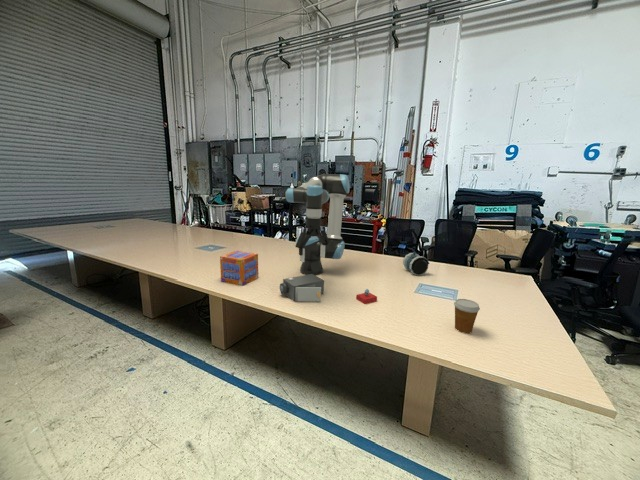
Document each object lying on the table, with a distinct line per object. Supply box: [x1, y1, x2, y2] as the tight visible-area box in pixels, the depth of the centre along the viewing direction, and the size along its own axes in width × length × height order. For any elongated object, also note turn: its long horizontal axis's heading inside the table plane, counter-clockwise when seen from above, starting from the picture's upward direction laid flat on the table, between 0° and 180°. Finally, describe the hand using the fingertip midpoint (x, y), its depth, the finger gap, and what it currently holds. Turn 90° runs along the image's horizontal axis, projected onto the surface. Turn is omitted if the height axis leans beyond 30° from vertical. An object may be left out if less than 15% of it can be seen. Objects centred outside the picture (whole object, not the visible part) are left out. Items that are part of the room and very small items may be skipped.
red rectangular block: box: [355, 288, 378, 305], centre depth 144 cm, size 8×7×6 cm
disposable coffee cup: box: [453, 298, 481, 334], centre depth 116 cm, size 10×10×12 cm
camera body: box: [279, 274, 325, 302], centre depth 148 cm, size 21×12×9 cm, turn 124°
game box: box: [219, 250, 259, 287], centre depth 166 cm, size 16×16×16 cm
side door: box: [294, 287, 322, 302], centre depth 139 cm, size 13×2×7 cm, turn 94°
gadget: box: [402, 251, 430, 276], centre depth 190 cm, size 14×13×15 cm
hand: (312, 259), depth 141 cm, fingers open, 13 cm apart
